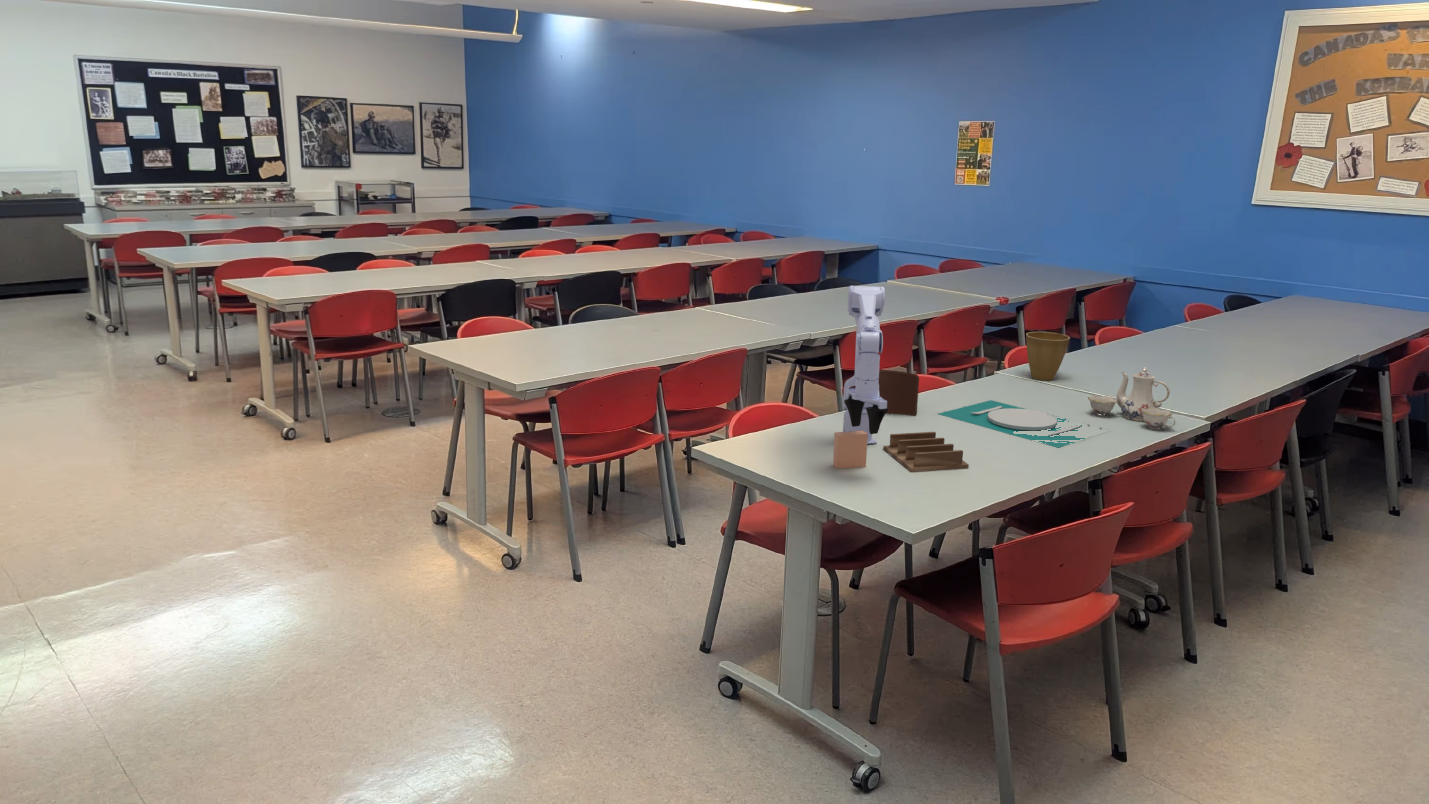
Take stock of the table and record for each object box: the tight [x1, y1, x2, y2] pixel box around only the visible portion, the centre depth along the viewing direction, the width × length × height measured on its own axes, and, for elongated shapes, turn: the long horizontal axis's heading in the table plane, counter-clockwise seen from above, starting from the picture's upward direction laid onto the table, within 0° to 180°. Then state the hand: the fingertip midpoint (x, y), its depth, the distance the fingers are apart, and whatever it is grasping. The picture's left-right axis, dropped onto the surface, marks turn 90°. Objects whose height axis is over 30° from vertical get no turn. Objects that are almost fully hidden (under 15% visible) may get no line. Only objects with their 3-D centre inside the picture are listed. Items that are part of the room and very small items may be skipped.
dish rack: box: [882, 431, 970, 473], centre depth 246 cm, size 19×16×4 cm
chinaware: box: [1087, 367, 1176, 430], centre depth 282 cm, size 28×17×17 cm, turn 42°
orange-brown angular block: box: [832, 431, 868, 469], centre depth 239 cm, size 3×8×9 cm, turn 102°
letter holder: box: [854, 369, 920, 417], centre depth 291 cm, size 10×20×14 cm, turn 77°
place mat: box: [937, 400, 1086, 449], centre depth 280 cm, size 45×30×2 cm
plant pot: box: [1025, 331, 1071, 382], centre depth 333 cm, size 15×15×16 cm
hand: (864, 429), depth 236 cm, fingers open, 7 cm apart
